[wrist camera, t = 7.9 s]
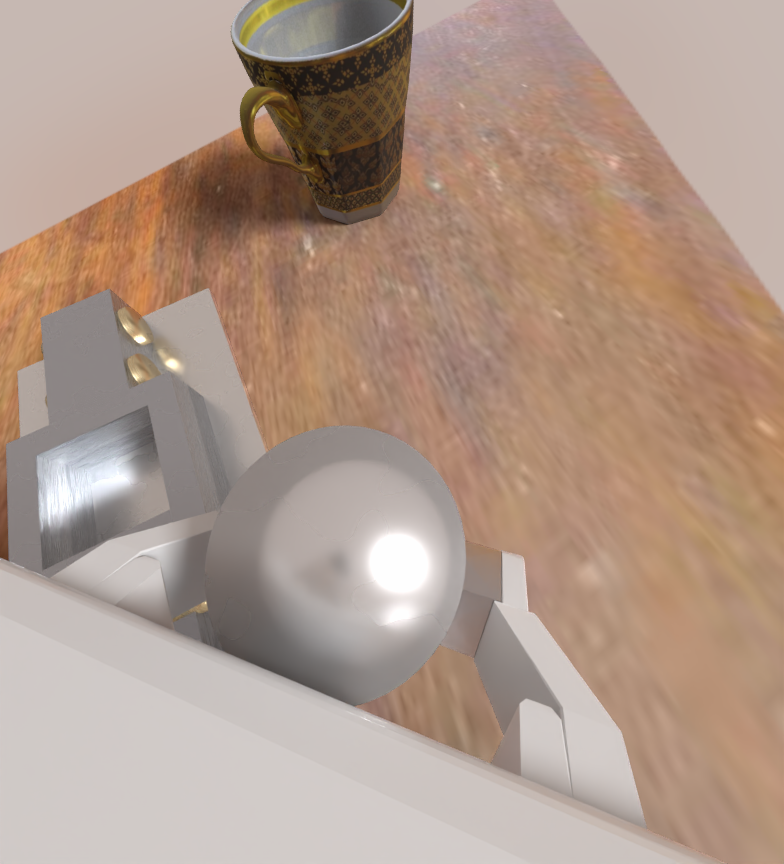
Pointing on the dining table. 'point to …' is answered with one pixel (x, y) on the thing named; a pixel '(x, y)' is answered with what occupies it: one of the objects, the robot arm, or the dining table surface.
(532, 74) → the dining table surface
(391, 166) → the ceramic cup
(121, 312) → the gray metal plate
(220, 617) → the silver upright cylinder
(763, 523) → the dining table surface
